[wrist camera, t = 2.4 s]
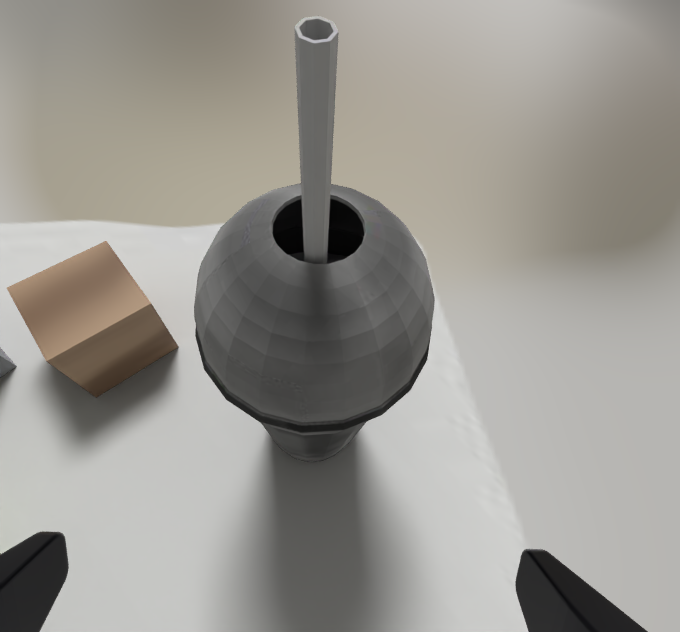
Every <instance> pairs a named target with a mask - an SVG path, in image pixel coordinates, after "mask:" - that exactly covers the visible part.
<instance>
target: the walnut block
mask: <svg viewBox="0 0 680 632" xmlns="http://www.w3.org/2000/svg"><path fill="white" fill-rule="evenodd" d="M7 289H8V291H9V293H10V295H11V297H12V299H13V301H14V302H15V304H16V306H17V308H18V310H19V312H20V313H21V315H22V317H23V319H24V321H25V323H26V325H27V326H28V328H29V330H30V332H31V334H32V336H33V337H34V339H35V341H36V343H37V345H38V347H39V349H40V350H41V352H42V354H43V356H44V358H45V360H46V361H47V362H48V363H49V364H51V365H52V366H54V367H55V368H56V369H58V370H59V371H60V372H62V373H63V374H65V375H66V376H67V377H69V378H70V379H71V380H73V381H74V382H75V383H77V384H78V385H80V386H81V387H82V388H84V389H85V390H86V391H88V392H89V393H91V394H92V395H93V396H95V397H98V396H100V395H101V394H103V393H105V392H106V391H108V390H109V389H111V388H113V387H114V386H116V385H118V384H119V383H121V382H122V381H124V380H126V379H127V378H129V377H131V376H132V375H134V374H135V373H137V372H139V371H140V370H142V369H144V368H145V367H147V366H148V365H150V364H152V363H153V362H155V361H157V360H158V359H160V358H162V357H163V356H165V355H166V354H168V353H170V352H171V351H173V350H175V349H176V348H178V345H177V344H176V342H175V341H174V339H173V337H172V336H171V334H170V333H169V331H168V329H167V328H166V326H165V325H164V323H163V321H162V320H161V318H160V317H159V315H158V314H157V312H156V310H155V309H154V307H153V306H152V304H151V303H150V301H149V300H148V298H147V297H146V296H145V294H144V293H143V291H142V290H141V289H140V287H139V286H138V284H137V283H136V282H135V280H134V279H133V277H132V276H131V275H130V273H129V272H128V271H127V269H126V268H125V266H124V265H123V264H122V262H121V261H120V259H119V258H118V257H117V255H116V254H115V252H114V251H113V250H112V248H111V247H110V245H109V244H108V243H107V241H105V242H103V243H101V244H99V245H96V246H94V247H92V248H90V249H88V250H86V251H84V252H82V253H80V254H77V255H75V256H73V257H71V258H69V259H67V260H65V261H63V262H60V263H58V264H56V265H54V266H52V267H50V268H48V269H46V270H44V271H41V272H39V273H37V274H35V275H33V276H31V277H29V278H27V279H24V280H22V281H20V282H18V283H16V284H14V285H12V286H10V287H8V288H7Z"/></svg>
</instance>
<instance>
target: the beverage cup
mask: <svg viewBox="0 0 680 632" xmlns="http://www.w3.org/2000/svg"><path fill="white" fill-rule="evenodd" d="M294 28H295V50H296V74H297V99H298V122H299V144H300V145H299V146H300V169H301V183H300V184H296V185H291V186H287V187H282V188H278V189H274V190H271V191H269V192H267V193H265V194H264V195H262V196H260V197H258V198H256V199H254V200H252V201H250V202H248V203H247V204H246V205H245V206H243V207H242V208H241V209H240V210H239V211H238V212H237V213H236V214H235V215H234V216H233V217H232V218H230V219H229V220H228V221H227V222H226V223H225V224H224V225H223V226H222V227H221V228H220V230H219V231H218V233H217V235H216V236H215V238H214V240H213V242H212V244H211V246H210V248H209V249H208V251H207V253H206V255H205V257H204V259H203V261H202V263H201V266H200V269H199V273H198V280H197V288H196V296H195V304H194V317H195V322H196V340H197V344H198V347H199V351H200V355H201V359H202V362H203V366H204V370H205V371H206V372H207V374H208V375H209V377H210V378H211V379H212V381H213V382H214V383H215V385H216V386H217V387H218V389H219V390H220V392H221V393H222V394H223V396H224V397H225V398H226V400H228V401H229V402H231V403H232V404H234V405H235V406H237V407H238V408H240V409H241V410H243V411H244V412H246V413H247V414H249V415H250V416H252V417H253V418H255V419H256V420H258V421H259V422H261V423H262V425H263V426H264V427H265V429H266V430H267V431H268V433H269V434H270V435H271V437H272V438H273V439H274V441H275V442H276V443H277V445H278V446H279V447H280V448H281V449H283V450H284V451H285V452H286V453H288V454H289V455H291V456H292V457H294V458H296V459H299V460H303V461H307V462H311V461H322V460H324V459H327V458H329V457H332V456H334V455H335V454H336V453H338V452H339V451H340V450H341V449H342V448H343V447H344V446H346V445H347V444H348V443H349V442H350V441H351V440H352V438H353V437H354V436H355V435H356V434H357V432H358V431H359V430H360V429H361V428H362V426H363V425H364V424H365V423H366V422H367V421H368V420H370V419H373V418H375V417H378V416H380V415H382V414H383V413H385V412H386V411H387V410H388V409H389V408H390V407H391V406H393V405H394V404H395V403H396V402H397V401H398V400H400V399H401V398H402V397H403V396H404V395H405V394H406V393H408V392H409V391H410V390H411V388H412V386H413V384H414V383H415V381H416V379H417V377H418V375H419V373H420V372H421V370H422V368H423V366H424V364H425V363H426V361H427V357H428V350H429V343H430V336H431V329H432V318H433V311H434V300H435V299H434V294H433V288H432V284H431V280H430V275H429V271H428V267H427V262H426V258H425V256H424V255H423V253H422V251H421V249H420V247H419V245H418V244H417V242H416V241H415V239H414V238H413V236H412V234H411V233H410V231H409V230H408V228H407V227H406V225H405V224H404V223H403V222H402V221H401V220H400V219H399V218H398V217H396V216H395V215H394V214H393V213H392V212H391V211H389V210H388V209H387V208H386V207H385V206H383V205H382V204H381V203H380V202H379V201H377V200H375V199H373V198H371V197H369V196H367V195H365V194H362V193H361V192H358V191H356V190H354V189H351V188H347V187H343V186H338V185H333V184H331V169H332V150H333V128H334V109H335V89H336V68H337V47H338V30H337V28H336V26H335V24H334V22H333V21H331V20H328V19H325V18H323V17H320V16H315V17H307V18H302V19H301V20H300V22H299V23H298V24H297V25H296V26H295V27H294Z"/></svg>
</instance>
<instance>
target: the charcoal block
mask: <svg viewBox="0 0 680 632" xmlns="http://www.w3.org/2000/svg"><path fill="white" fill-rule="evenodd" d="M15 367H16V365H15V364H14V363H13V361H12V360H11V359H10V358H9V357H8V356H7V355H6V354H5V352H4V351H3V350H2V349H1V348H0V378H1V377H2V376H4V375H5V374H7V373H8V372H9V371H11V370H12V369H14V368H15Z"/></svg>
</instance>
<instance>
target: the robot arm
mask: <svg viewBox="0 0 680 632" xmlns="http://www.w3.org/2000/svg"><path fill="white" fill-rule="evenodd" d="M67 574H68V557H67V549H66V541H65V536H64V535H63V534H62V533H60V532H39V533H36V534H34V535H33V536H31V537H29V538H28V539H26V540H24V541H23V542H21V543H19V544H17V545H16V546H14V547H12V548H11V549H9V550H7V551H6V552H4V553H2V554H1V555H0V632H40V630H41V628H42V626H43V624H44V622H45V620H46V618H47V616H48V614H49V612H50V610H51V608H52V606H53V604H54V602H55V600H56V598H57V596H58V594H59V592H60V590H61V588H62V586H63V584H64V582H65V580H66V577H67ZM516 592H517V596H518V600H519V603H520V606H521V609H522V612H523V615H524V618H525V622H526V625H527V628H528V631H529V632H647V631H646V630H645V629H644V628H642V627H641V626H640V625H639V624H637V623H636V622H635V621H633V620H632V619H631V618H630V617H629V616H627V615H626V614H625V613H624V612H622V611H621V610H620V609H619V608H617V607H616V606H615V605H614V604H612V603H611V602H610V601H609V600H607V599H606V598H605V597H604V596H602V595H601V594H600V593H599V592H597V591H596V590H595V589H594V588H592V587H591V586H590V585H589V584H587V583H586V582H585V581H584V580H582V579H581V578H580V577H579V576H577V575H576V574H575V573H574V572H572V571H571V570H570V569H569V568H567V567H566V566H565V565H563V564H562V563H561V562H560V561H559V560H557V559H556V558H555V557H554V556H552V555H551V554H550V553H548V552H547V551H545V550H540V549H525V550H524V551H523V552H522V555H521V559H520V564H519V568H518V572H517V577H516Z"/></svg>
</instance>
